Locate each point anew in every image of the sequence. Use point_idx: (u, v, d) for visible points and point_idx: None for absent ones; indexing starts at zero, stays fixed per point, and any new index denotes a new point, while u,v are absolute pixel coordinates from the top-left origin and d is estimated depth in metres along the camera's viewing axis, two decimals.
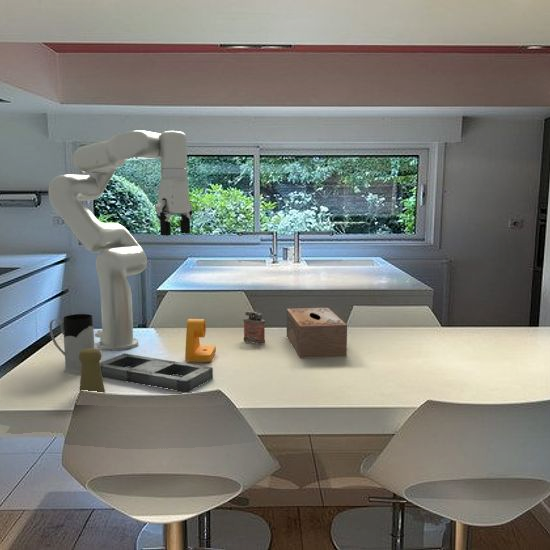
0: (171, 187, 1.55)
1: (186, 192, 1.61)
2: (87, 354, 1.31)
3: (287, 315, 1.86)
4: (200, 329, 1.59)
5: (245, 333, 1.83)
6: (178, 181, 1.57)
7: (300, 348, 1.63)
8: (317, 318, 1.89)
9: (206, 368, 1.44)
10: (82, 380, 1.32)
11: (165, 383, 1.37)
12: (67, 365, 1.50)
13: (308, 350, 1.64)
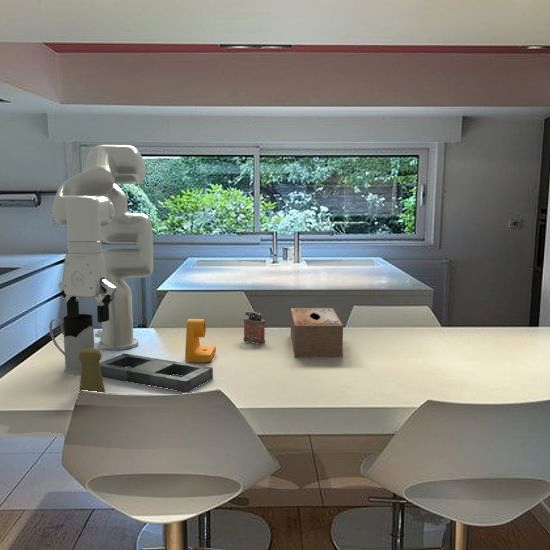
0: None
1: None
2: (87, 354, 1.31)
3: None
4: (200, 329, 1.59)
5: (245, 333, 1.83)
6: None
7: (295, 347, 1.64)
8: None
9: (206, 368, 1.44)
10: (82, 380, 1.32)
11: (165, 383, 1.37)
12: (67, 365, 1.50)
13: (303, 350, 1.64)
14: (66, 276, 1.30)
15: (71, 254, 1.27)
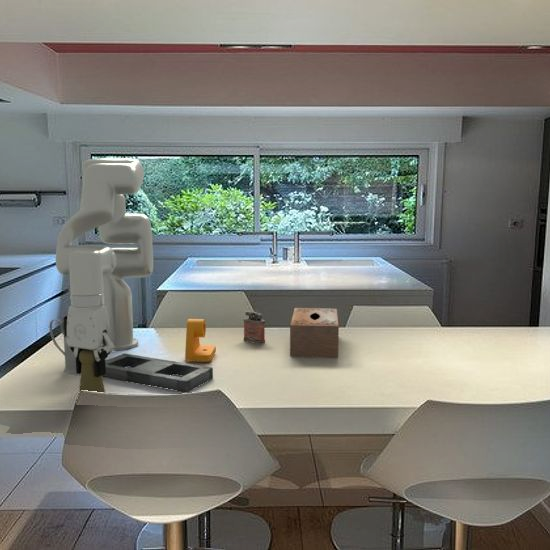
0: None
1: None
2: (87, 354, 1.31)
3: None
4: (200, 329, 1.59)
5: (245, 333, 1.83)
6: None
7: (291, 347, 1.65)
8: None
9: (206, 368, 1.44)
10: (82, 380, 1.32)
11: (165, 383, 1.37)
12: (67, 365, 1.50)
13: (299, 349, 1.65)
14: (69, 328, 1.32)
15: (74, 307, 1.29)
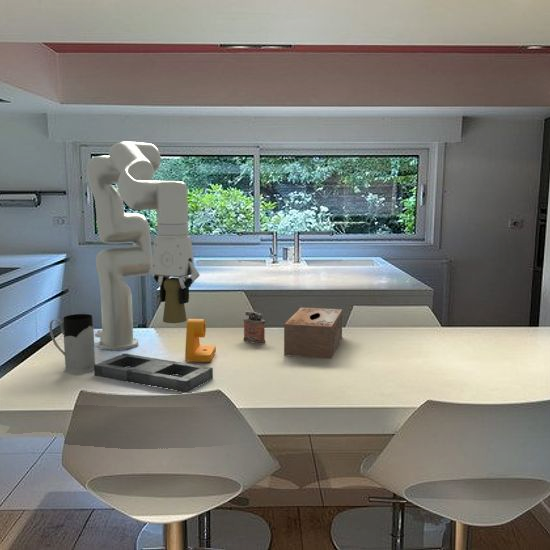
0: None
1: None
2: (172, 282, 1.37)
3: None
4: (200, 329, 1.59)
5: (245, 333, 1.83)
6: None
7: (285, 345, 1.66)
8: None
9: (206, 368, 1.44)
10: (167, 307, 1.38)
11: (165, 383, 1.37)
12: (67, 365, 1.50)
13: (293, 349, 1.66)
14: (155, 257, 1.38)
15: (162, 236, 1.34)
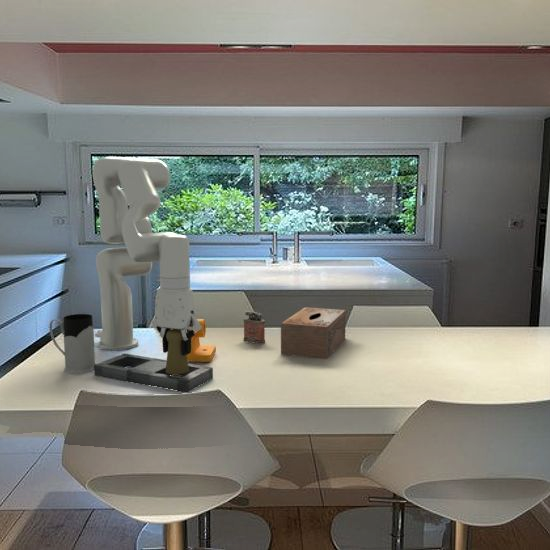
0: None
1: None
2: (174, 334, 1.39)
3: None
4: (200, 329, 1.59)
5: (245, 333, 1.83)
6: None
7: (281, 345, 1.67)
8: None
9: (206, 368, 1.44)
10: (169, 358, 1.40)
11: (165, 383, 1.37)
12: (67, 365, 1.50)
13: (289, 348, 1.66)
14: (157, 309, 1.39)
15: (164, 289, 1.36)
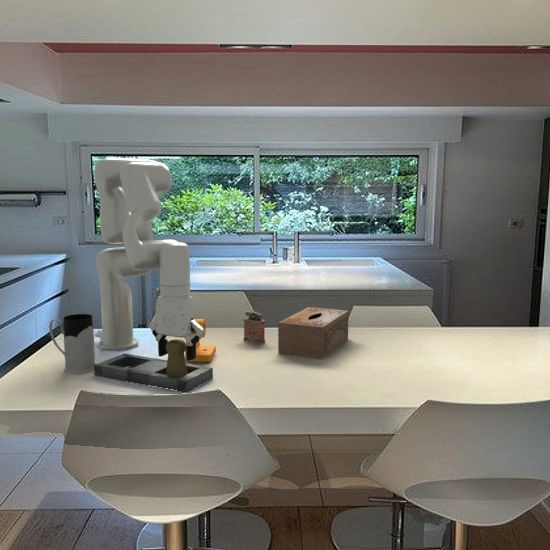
0: None
1: None
2: (174, 345, 1.39)
3: None
4: None
5: (245, 333, 1.83)
6: None
7: (279, 344, 1.68)
8: None
9: (206, 368, 1.44)
10: (169, 369, 1.41)
11: (165, 383, 1.37)
12: (67, 365, 1.50)
13: (286, 347, 1.67)
14: (158, 316, 1.40)
15: (164, 297, 1.37)
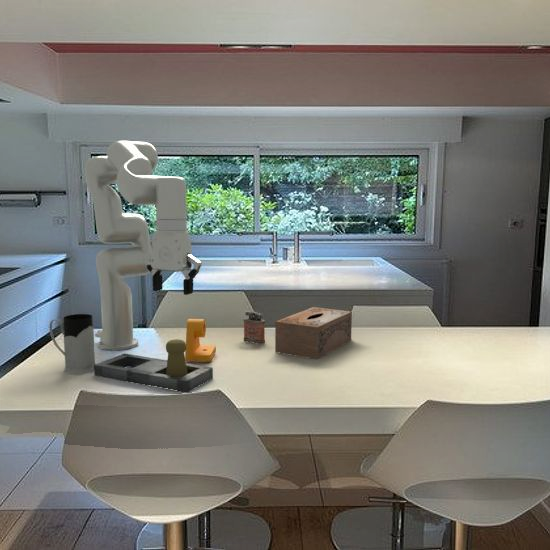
0: None
1: None
2: (174, 345, 1.39)
3: None
4: (200, 329, 1.59)
5: (245, 333, 1.83)
6: None
7: (276, 342, 1.70)
8: None
9: (206, 368, 1.44)
10: (169, 369, 1.41)
11: (165, 383, 1.37)
12: (67, 365, 1.50)
13: (283, 346, 1.68)
14: (154, 251, 1.39)
15: (160, 231, 1.36)
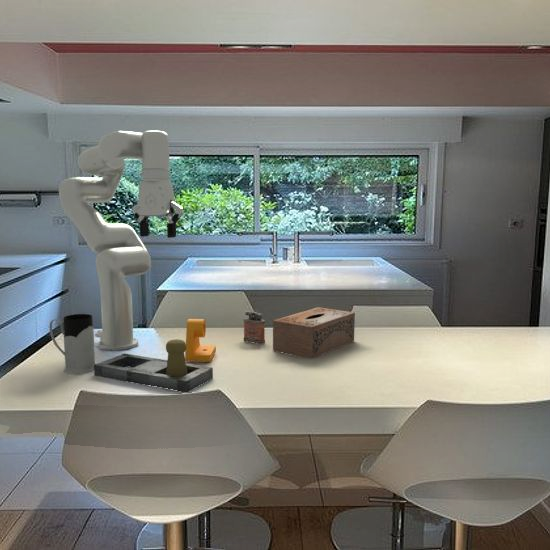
0: None
1: None
2: (174, 345, 1.39)
3: None
4: (200, 329, 1.59)
5: (245, 333, 1.83)
6: None
7: (273, 341, 1.71)
8: None
9: (206, 368, 1.44)
10: (169, 369, 1.41)
11: (165, 383, 1.37)
12: (67, 365, 1.50)
13: (279, 345, 1.70)
14: (140, 199, 1.55)
15: (146, 179, 1.52)
